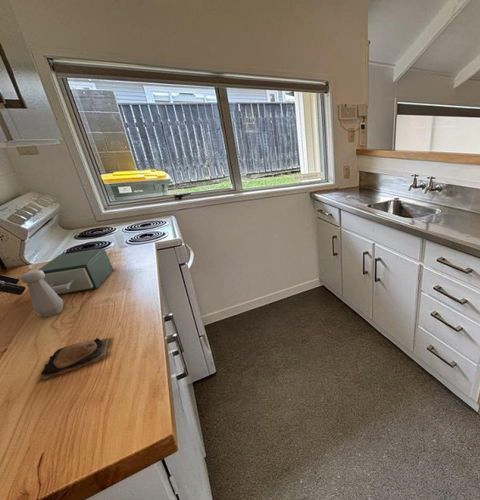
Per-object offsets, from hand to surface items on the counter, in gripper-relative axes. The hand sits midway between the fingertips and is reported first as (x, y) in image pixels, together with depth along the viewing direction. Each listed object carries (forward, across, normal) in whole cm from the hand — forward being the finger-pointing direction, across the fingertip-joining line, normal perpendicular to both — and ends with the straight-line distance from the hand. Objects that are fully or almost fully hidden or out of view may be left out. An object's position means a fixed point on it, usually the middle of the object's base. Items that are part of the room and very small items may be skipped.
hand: (20, 286), depth 74 cm
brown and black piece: (+8, -30, +6) cm, 32 cm away
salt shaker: (+9, 0, +5) cm, 11 cm away
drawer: (+14, +12, -1) cm, 19 cm away
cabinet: (+17, +16, -3) cm, 23 cm away
